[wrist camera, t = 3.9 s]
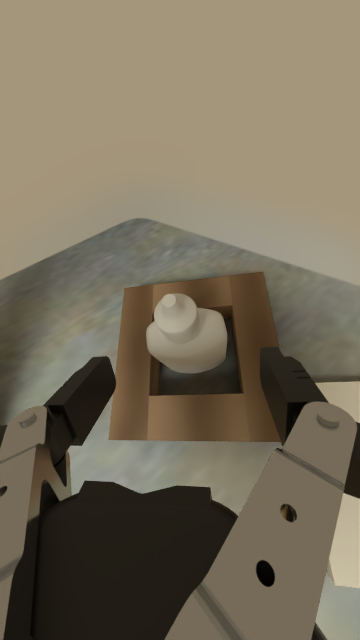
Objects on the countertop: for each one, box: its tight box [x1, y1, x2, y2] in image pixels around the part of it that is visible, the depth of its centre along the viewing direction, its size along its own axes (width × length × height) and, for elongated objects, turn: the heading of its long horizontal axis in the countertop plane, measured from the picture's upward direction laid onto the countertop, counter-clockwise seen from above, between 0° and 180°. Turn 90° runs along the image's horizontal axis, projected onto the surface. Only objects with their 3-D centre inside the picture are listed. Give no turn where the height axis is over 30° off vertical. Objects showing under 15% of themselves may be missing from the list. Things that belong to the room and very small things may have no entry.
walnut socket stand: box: [109, 272, 281, 442], centre depth 19 cm, size 14×14×3 cm
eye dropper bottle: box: [146, 293, 227, 374], centre depth 15 cm, size 4×6×12 cm
